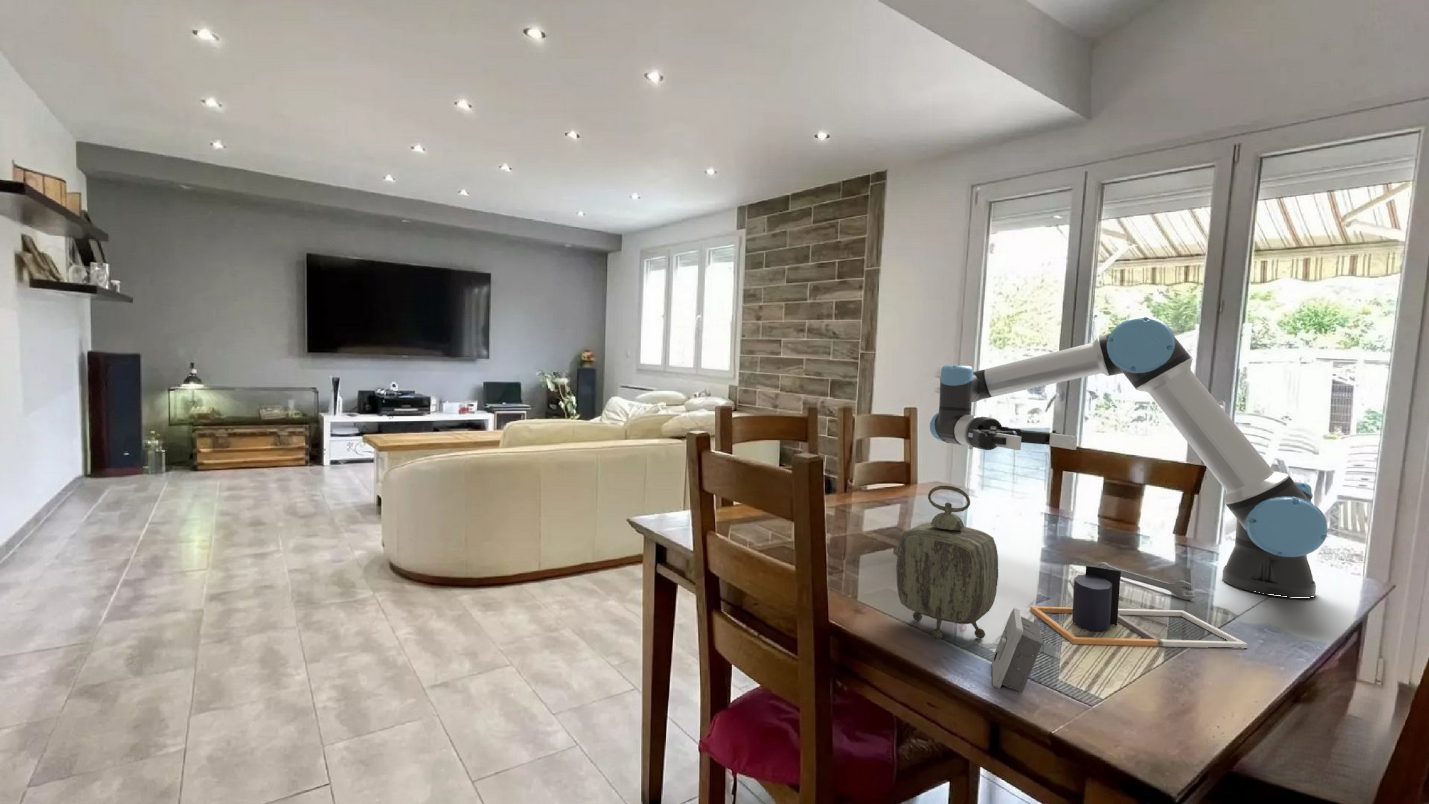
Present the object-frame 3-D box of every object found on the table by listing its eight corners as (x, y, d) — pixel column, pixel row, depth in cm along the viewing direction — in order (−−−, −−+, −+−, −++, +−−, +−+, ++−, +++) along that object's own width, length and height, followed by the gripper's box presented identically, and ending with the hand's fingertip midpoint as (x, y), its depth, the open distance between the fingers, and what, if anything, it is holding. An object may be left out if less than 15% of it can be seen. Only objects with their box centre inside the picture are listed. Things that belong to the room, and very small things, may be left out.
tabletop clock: (995, 639, 107) (1002, 489, 106) (976, 656, 100) (984, 496, 99) (911, 615, 117) (917, 477, 115) (888, 630, 110) (895, 483, 108)
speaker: (1083, 613, 119) (1087, 560, 118) (1118, 625, 115) (1122, 569, 113) (1065, 627, 115) (1068, 571, 113) (1100, 639, 110) (1105, 582, 109)
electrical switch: (991, 662, 99) (1001, 603, 98) (1028, 672, 97) (1038, 612, 96) (992, 690, 90) (1002, 626, 89) (1033, 702, 88) (1044, 636, 87)
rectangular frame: (1182, 614, 121) (1182, 610, 121) (1246, 648, 106) (1247, 643, 106) (1030, 610, 121) (1030, 606, 121) (1073, 643, 106) (1073, 639, 106)
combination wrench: (1095, 559, 146) (1192, 584, 128) (1099, 558, 146) (1196, 584, 128) (1095, 575, 146) (1192, 603, 128) (1099, 575, 146) (1196, 602, 128)
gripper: (1023, 448, 156) (1096, 461, 135) (931, 448, 149) (994, 462, 129) (1025, 416, 155) (1098, 425, 135) (933, 416, 149) (996, 424, 128)
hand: (1047, 443), depth 132 cm, fingers open, 13 cm apart
